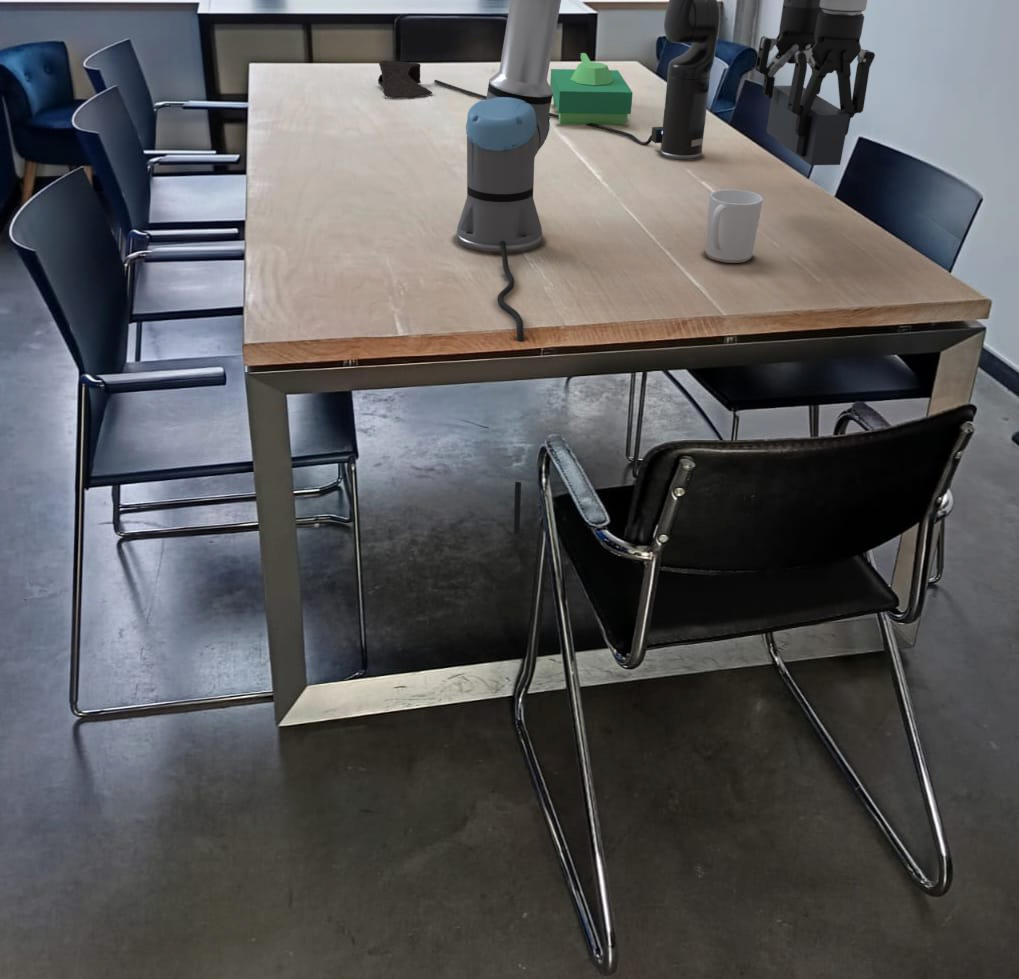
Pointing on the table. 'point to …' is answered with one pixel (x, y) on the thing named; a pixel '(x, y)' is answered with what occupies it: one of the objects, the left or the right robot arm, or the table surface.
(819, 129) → the bar
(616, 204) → the table surface
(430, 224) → the table surface
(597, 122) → the toy tank
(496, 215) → the left robot arm
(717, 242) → the mug
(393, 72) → the axe head
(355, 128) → the table surface
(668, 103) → the right robot arm
